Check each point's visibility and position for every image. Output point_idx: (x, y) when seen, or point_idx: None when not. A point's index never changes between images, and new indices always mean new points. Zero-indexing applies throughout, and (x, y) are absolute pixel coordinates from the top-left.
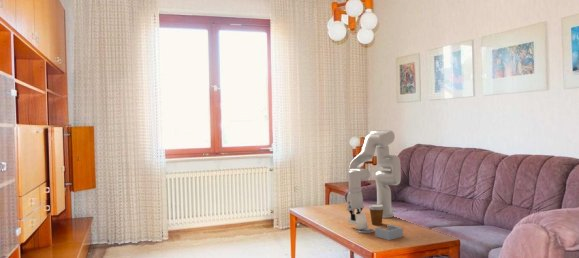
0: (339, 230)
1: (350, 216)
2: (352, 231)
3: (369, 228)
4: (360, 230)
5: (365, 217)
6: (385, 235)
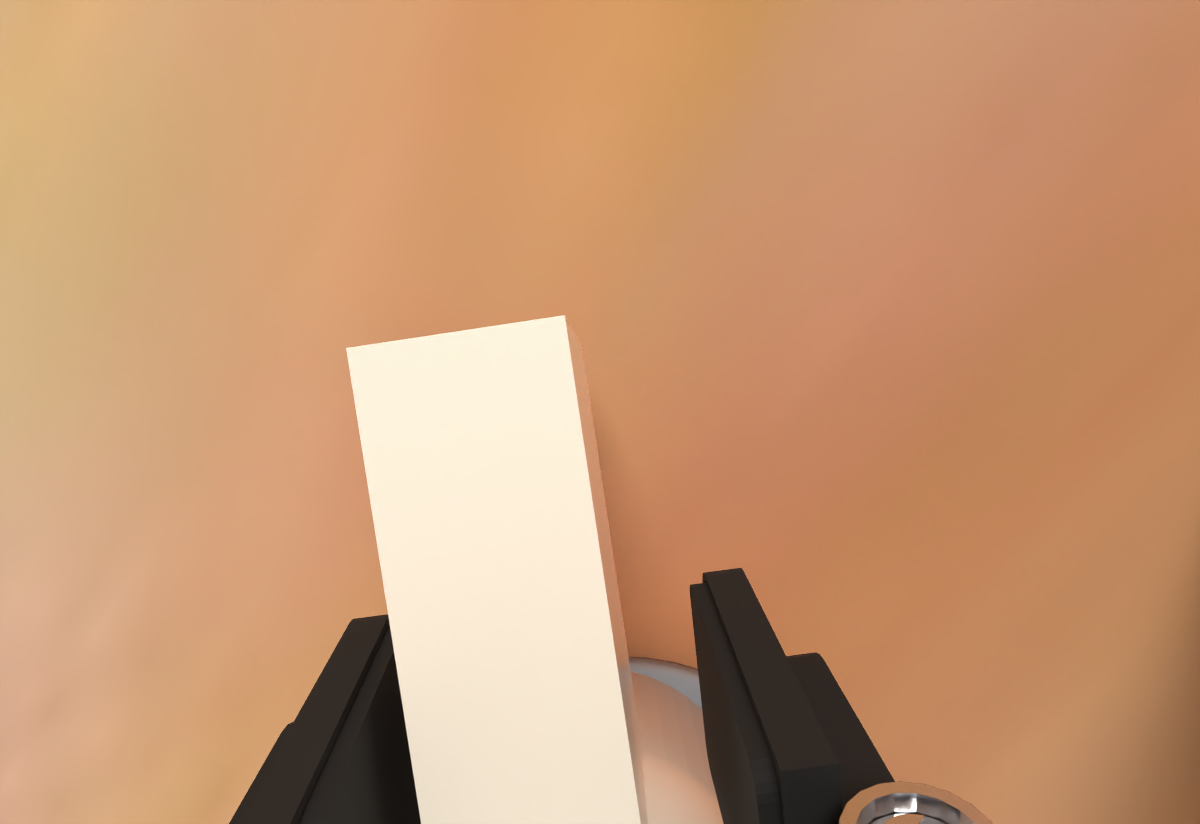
0: (39, 427)
1: (381, 559)
2: None
3: None
4: None
5: None
6: None
